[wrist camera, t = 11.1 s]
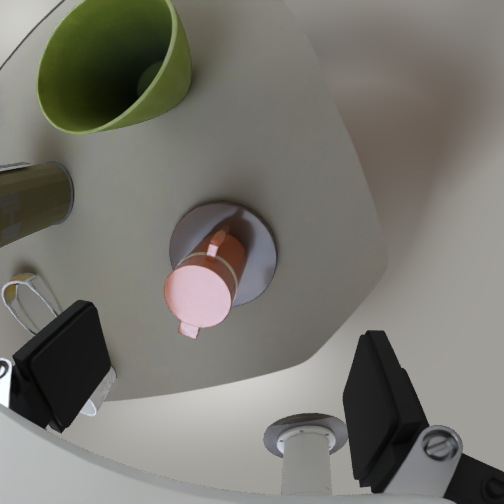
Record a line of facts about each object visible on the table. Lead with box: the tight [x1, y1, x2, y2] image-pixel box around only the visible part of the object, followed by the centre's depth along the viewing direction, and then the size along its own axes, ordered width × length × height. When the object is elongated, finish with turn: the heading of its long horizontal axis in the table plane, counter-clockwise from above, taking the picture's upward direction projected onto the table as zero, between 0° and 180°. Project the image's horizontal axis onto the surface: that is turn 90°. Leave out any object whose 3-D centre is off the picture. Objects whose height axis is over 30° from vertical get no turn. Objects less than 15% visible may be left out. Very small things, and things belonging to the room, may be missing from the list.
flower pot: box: [37, 0, 191, 134], centre depth 24 cm, size 15×15×16 cm
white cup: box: [80, 366, 116, 416], centre depth 44 cm, size 8×8×10 cm
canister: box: [0, 162, 74, 248], centre depth 29 cm, size 11×10×20 cm
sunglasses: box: [2, 273, 59, 336], centre depth 45 cm, size 14×15×5 cm
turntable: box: [169, 201, 277, 307], centre depth 38 cm, size 14×14×2 cm
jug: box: [164, 225, 247, 339], centre depth 32 cm, size 10×7×11 cm, turn 162°
